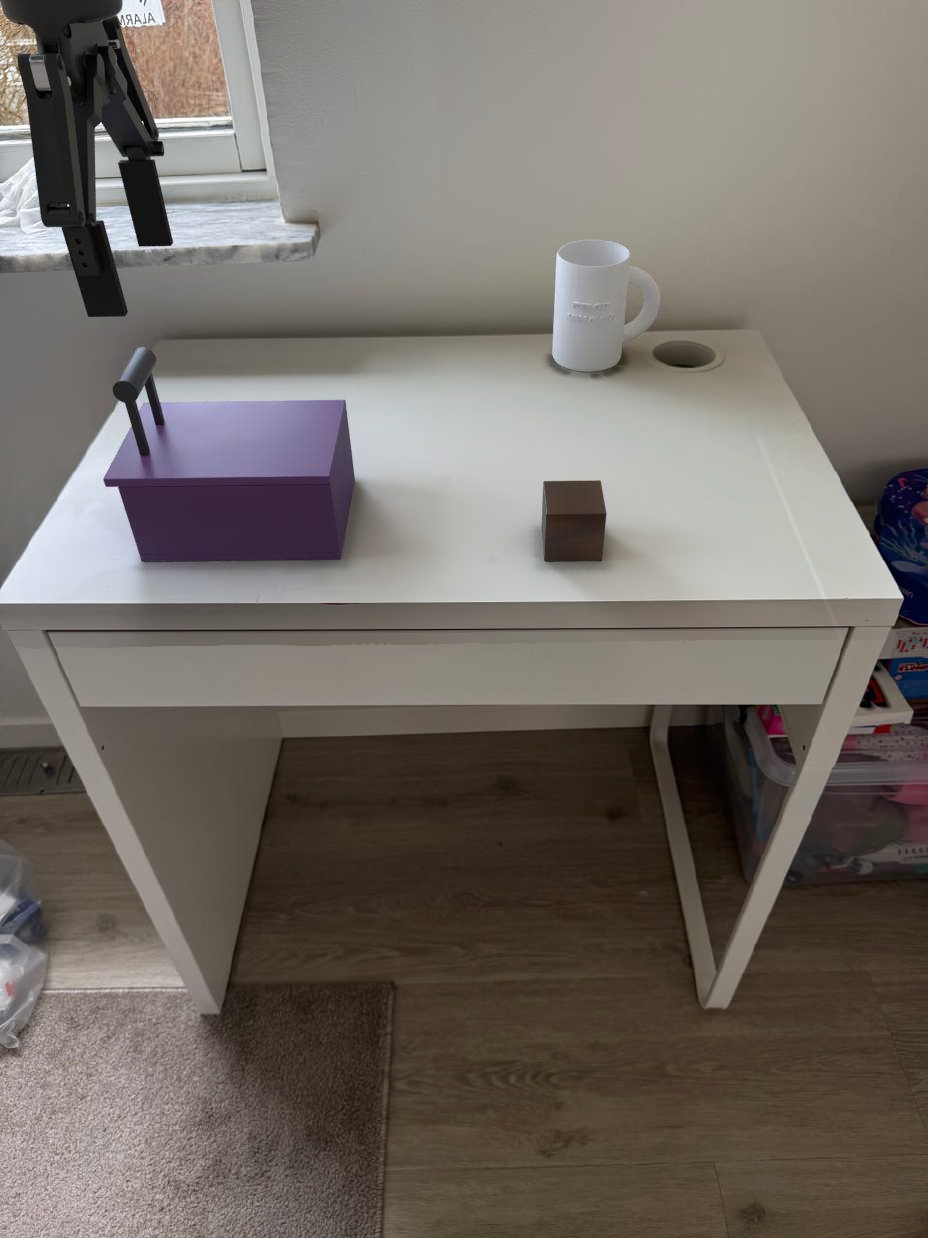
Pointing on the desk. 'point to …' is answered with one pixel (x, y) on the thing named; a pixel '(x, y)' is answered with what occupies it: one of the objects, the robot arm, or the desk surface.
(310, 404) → the purple hinged box lid
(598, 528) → the block
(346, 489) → the purple box
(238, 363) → the desk surface
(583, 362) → the mug
